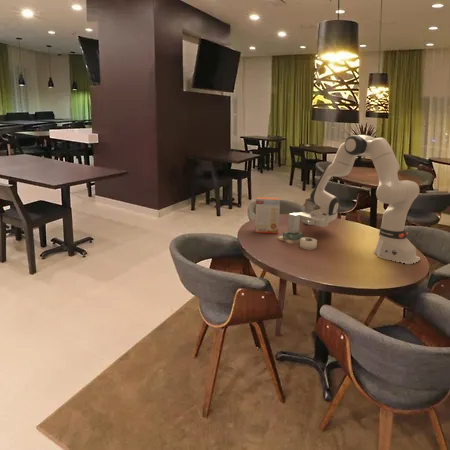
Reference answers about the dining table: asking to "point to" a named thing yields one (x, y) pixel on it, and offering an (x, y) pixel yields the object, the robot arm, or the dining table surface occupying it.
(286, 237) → the square socket board
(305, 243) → the round bore block
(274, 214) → the cracker box
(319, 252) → the dining table surface
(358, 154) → the robot arm
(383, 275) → the dining table surface
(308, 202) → the coffee box
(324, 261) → the dining table surface
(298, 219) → the square bit
